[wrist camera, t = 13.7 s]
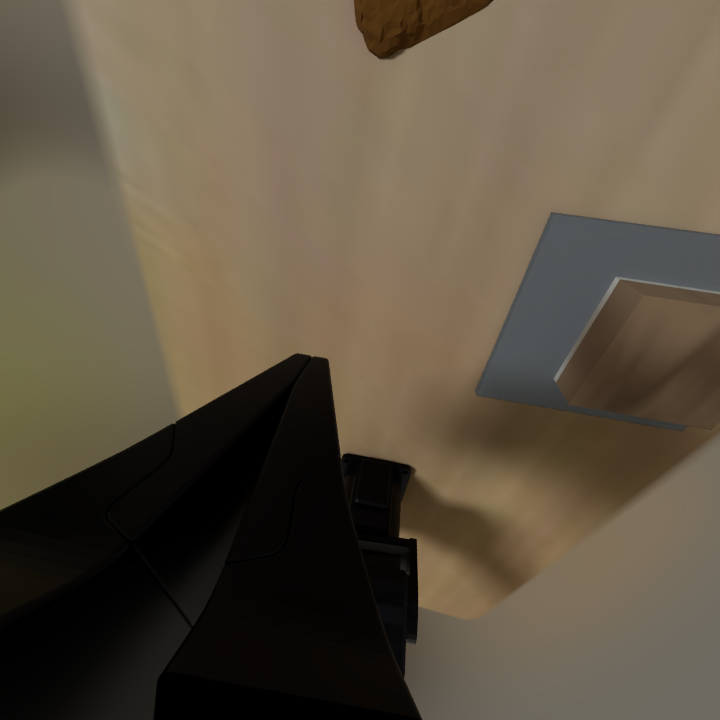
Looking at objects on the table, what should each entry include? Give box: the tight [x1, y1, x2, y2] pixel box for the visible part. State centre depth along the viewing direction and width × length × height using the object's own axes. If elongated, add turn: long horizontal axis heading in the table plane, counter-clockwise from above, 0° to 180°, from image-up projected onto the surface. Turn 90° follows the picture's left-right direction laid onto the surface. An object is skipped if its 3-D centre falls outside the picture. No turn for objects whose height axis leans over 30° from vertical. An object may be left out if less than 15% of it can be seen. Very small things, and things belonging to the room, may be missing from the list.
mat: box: [476, 212, 720, 431], centre depth 18 cm, size 12×14×1 cm
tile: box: [554, 277, 720, 430], centre depth 17 cm, size 7×2×8 cm
